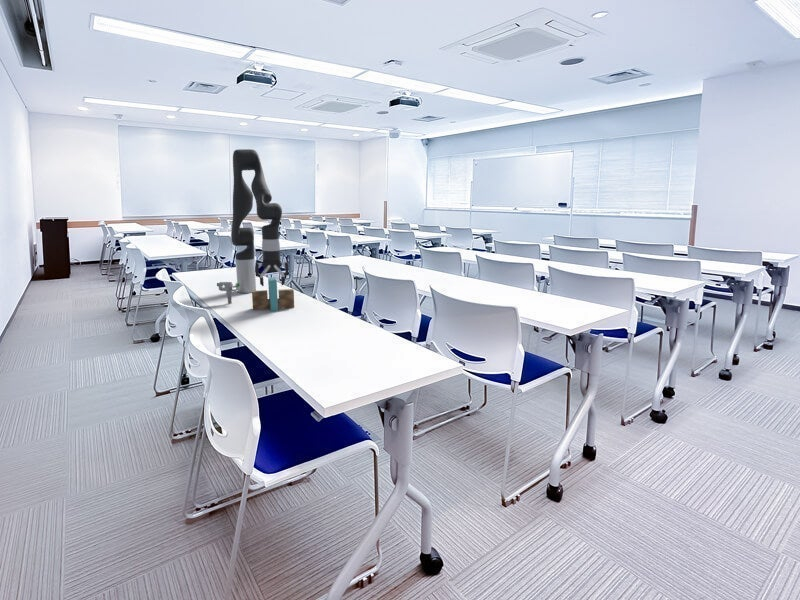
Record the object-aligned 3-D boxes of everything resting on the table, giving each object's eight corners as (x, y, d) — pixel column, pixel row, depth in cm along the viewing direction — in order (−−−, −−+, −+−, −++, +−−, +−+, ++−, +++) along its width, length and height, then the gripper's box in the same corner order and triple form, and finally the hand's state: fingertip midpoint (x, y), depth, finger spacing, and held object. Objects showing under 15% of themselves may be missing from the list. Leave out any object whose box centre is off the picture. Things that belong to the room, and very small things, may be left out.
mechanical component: (239, 304, 220) (238, 283, 218) (217, 304, 221) (216, 282, 218) (241, 303, 223) (240, 282, 221) (220, 302, 224) (218, 281, 221)
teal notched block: (278, 310, 210) (276, 281, 207) (271, 311, 209) (269, 282, 206) (276, 304, 221) (274, 277, 218) (269, 305, 220) (268, 277, 217)
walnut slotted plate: (253, 309, 211) (252, 292, 209) (252, 308, 213) (251, 290, 212) (294, 307, 216) (293, 290, 215) (293, 306, 219) (293, 289, 217)
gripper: (254, 250, 203) (256, 287, 207) (288, 249, 208) (289, 286, 211) (253, 248, 210) (255, 284, 214) (286, 248, 215) (288, 283, 218)
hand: (272, 285), depth 213 cm, fingers open, 8 cm apart
